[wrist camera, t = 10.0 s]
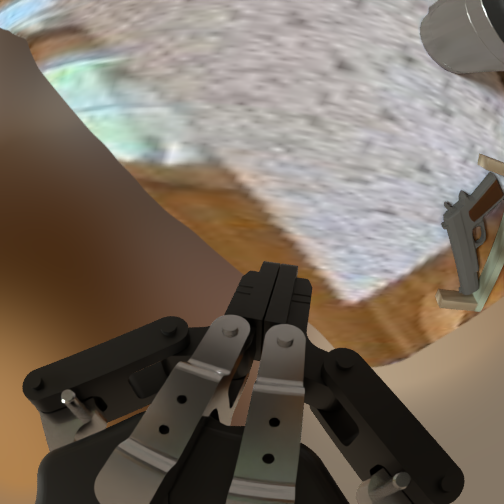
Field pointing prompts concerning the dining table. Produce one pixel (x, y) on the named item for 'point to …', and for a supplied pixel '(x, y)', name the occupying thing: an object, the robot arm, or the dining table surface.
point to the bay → (498, 256)
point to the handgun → (470, 229)
